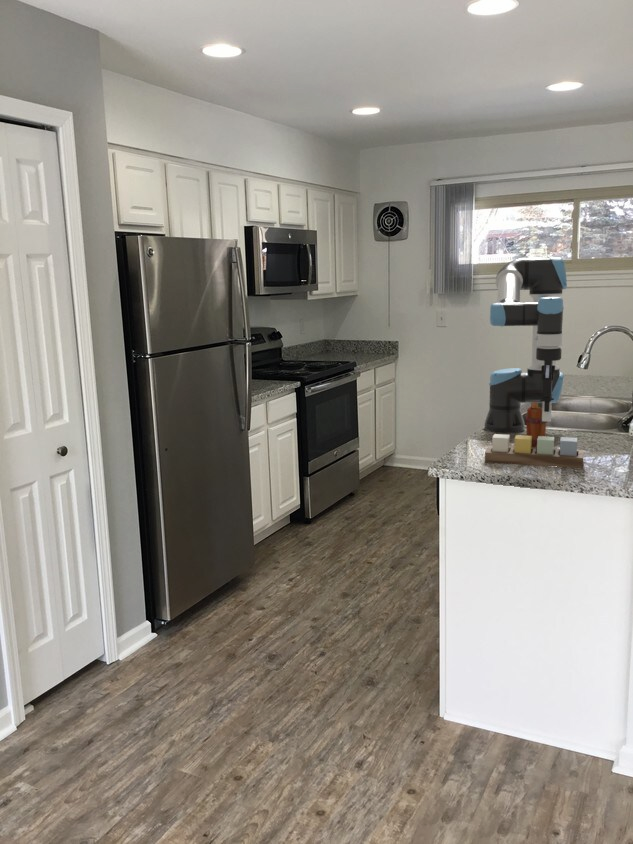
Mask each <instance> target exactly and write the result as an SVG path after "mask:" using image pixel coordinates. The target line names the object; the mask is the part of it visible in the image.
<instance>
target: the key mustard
mask: <svg viewBox="0 0 633 844" xmlns="http://www.w3.org/2000/svg"><path fill="white" fill-rule="evenodd" d="M525 435H526V434H524V435H523V434H522V435H520V434H516V435H515V436H514V445H513V446H514V453H531V448H532V436H525Z"/></svg>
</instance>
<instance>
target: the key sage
mask: <svg viewBox="0 0 633 844" xmlns="http://www.w3.org/2000/svg"><path fill="white" fill-rule="evenodd" d="M546 436H547V435H546ZM546 436H538V439H537V454H550V455H553V454H554V448H555V436H547V437H546Z"/></svg>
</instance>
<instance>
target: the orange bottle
mask: <svg viewBox="0 0 633 844" xmlns="http://www.w3.org/2000/svg"><path fill="white" fill-rule="evenodd" d="M526 411H527V412H526V415H525V416H524V419H525V420H524V422H526V424H525V425H526V426H525V427H526V432H525V433H526V434H524V435H525V436H532V447H536V448H537V439H538V436H546V437H548V436H547V433H546V431H547V423H548V422H547V421H542V406H541V407H540V406H539V403H537V402H532V403H530V407H528V408H527V409H526Z"/></svg>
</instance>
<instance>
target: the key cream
mask: <svg viewBox="0 0 633 844" xmlns="http://www.w3.org/2000/svg"><path fill="white" fill-rule="evenodd" d="M510 437H511V436H510V434H504V433H499V434H498V433H497V434H496V433H493V436H492V438H491V439H492V443H491V445H492V451H495V452H509V447H510V446H511V445H510V441H511V440H510V439H511V438H510Z"/></svg>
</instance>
